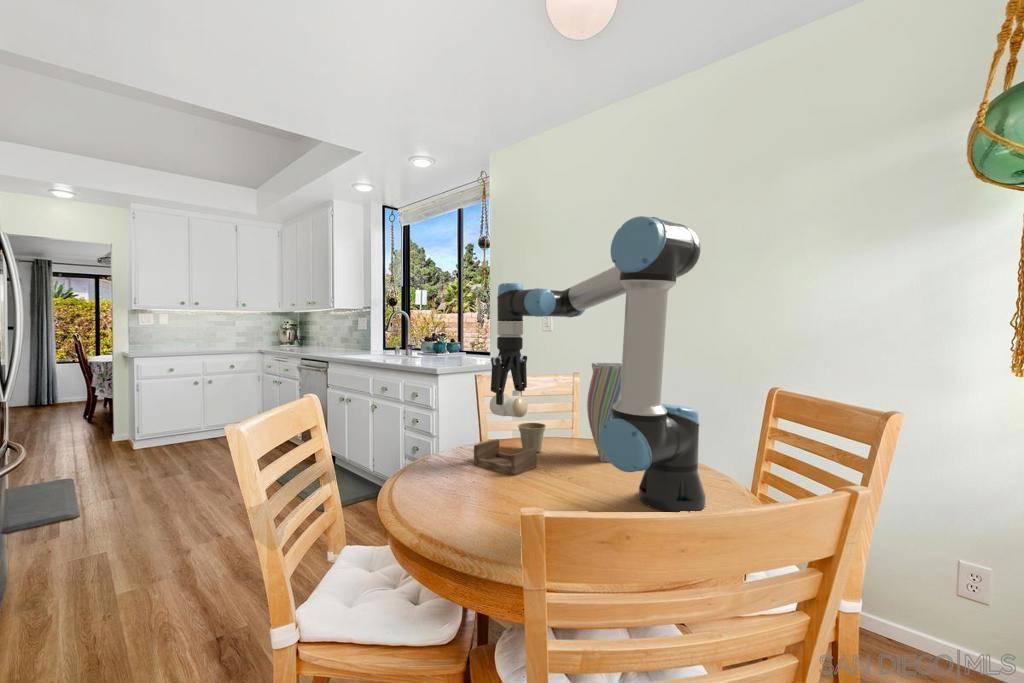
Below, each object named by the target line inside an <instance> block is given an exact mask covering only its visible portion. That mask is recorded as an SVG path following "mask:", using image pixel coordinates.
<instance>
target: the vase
mask: <svg viewBox="0 0 1024 683" xmlns="http://www.w3.org/2000/svg"><path fill="white" fill-rule="evenodd" d="M591 368H592V376H591V379H590V383H589V388H588V394H587V399H586V400H587V401H586V402H587V403H586V408H587V410H586V411H587V418H588V425H589V428H590V432H591V436H592V438H593V441H594V444H595V449H596V451H597V454H598V458H599V461H600V462H601V463H610V462H609V460H608V458H607V457H606V456H605V455H604V453H603V450H602V448H601V444H600V432H601V429H602V427H603V426H604V425H605V424H606V422H608V421H609V420H612V406H613V404H614V403H616V402H617V401H618V400H619V399H620V390H621V373H622V362H591Z"/></svg>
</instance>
